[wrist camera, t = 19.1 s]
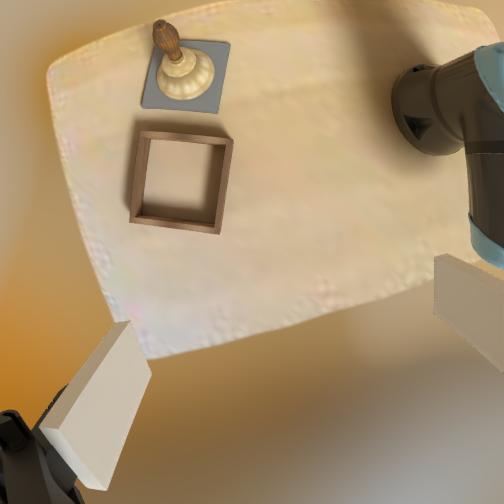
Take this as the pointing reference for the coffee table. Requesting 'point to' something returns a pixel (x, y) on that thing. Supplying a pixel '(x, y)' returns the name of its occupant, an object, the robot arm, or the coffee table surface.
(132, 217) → the brown wooden square frame
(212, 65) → the hand bell
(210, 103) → the grey rubber pad
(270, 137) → the coffee table surface
